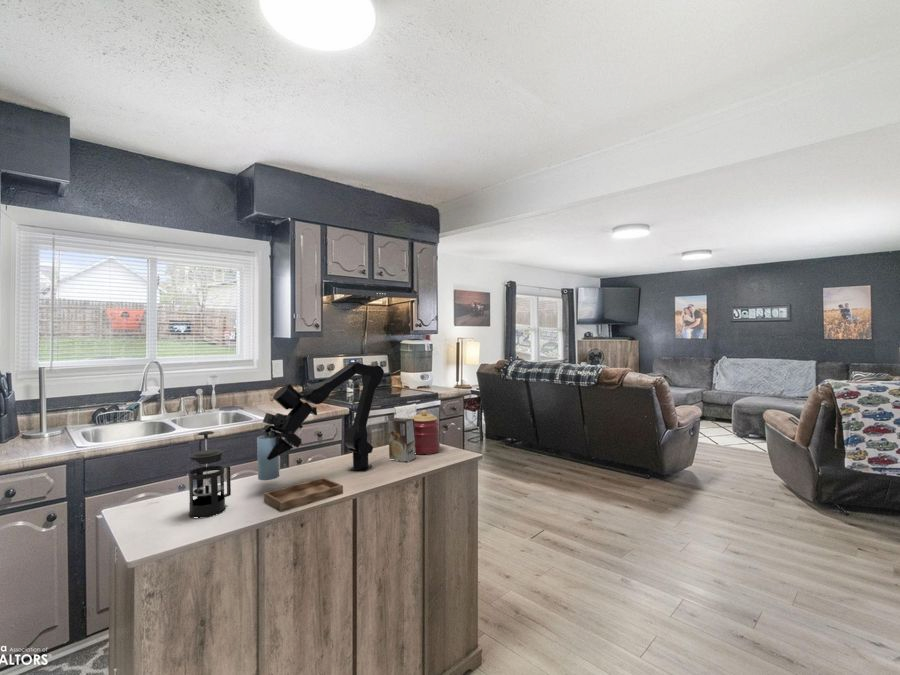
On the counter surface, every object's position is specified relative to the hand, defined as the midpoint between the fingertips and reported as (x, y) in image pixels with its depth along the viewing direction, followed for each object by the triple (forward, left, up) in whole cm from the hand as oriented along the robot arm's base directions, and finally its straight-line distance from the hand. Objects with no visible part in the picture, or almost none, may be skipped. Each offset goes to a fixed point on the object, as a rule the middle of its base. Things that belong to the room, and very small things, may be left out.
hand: (263, 457), depth 143 cm
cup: (-1, +1, -7) cm, 7 cm away
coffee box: (-43, +33, -12) cm, 55 cm away
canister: (-56, +39, -12) cm, 69 cm away
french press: (+16, -7, -12) cm, 21 cm away
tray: (+2, +15, -11) cm, 19 cm away
